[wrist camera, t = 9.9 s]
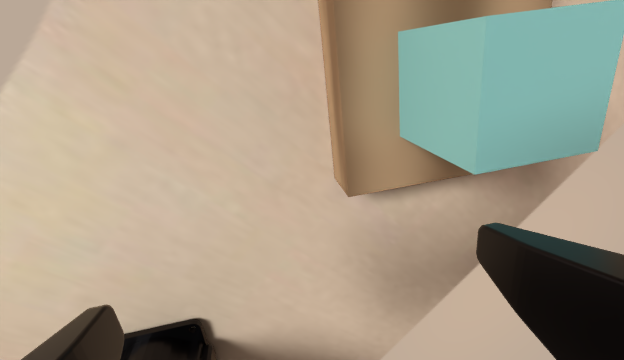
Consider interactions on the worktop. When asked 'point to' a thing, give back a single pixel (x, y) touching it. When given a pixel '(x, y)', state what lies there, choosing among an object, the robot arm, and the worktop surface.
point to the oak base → (383, 87)
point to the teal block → (510, 85)
